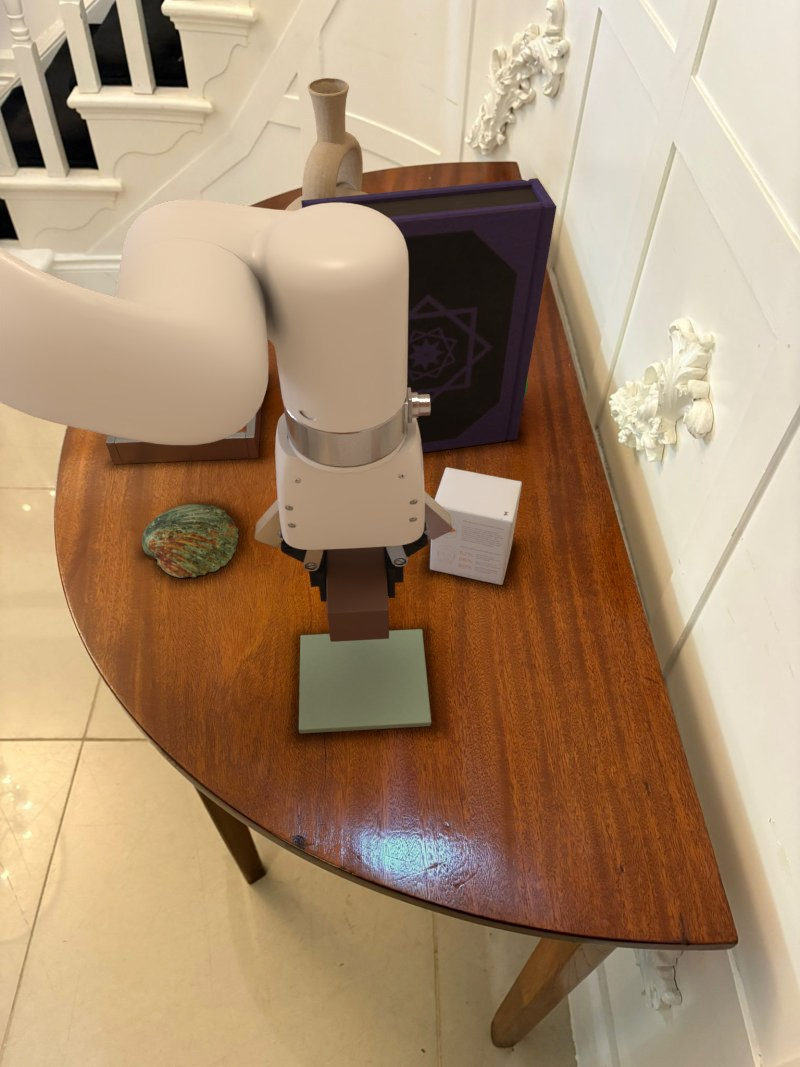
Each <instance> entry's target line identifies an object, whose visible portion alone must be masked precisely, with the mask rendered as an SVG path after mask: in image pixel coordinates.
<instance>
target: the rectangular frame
mask: <svg viewBox="0 0 800 1067" xmlns="http://www.w3.org/2000/svg"><path fill="white" fill-rule="evenodd" d="M262 410H263V403H262V404H261V406H260V408H259V410H258V411H257V413H256V414H255V416H254V417H253V418H252V419H251V420H250V421H249V422H248V423H247V424H246V430H245V431H237V432H236V433H234V434H233V435H231V436H229V437H227V438H224V439H221V440H218V441H215V442H211V443H205V444H199V445H165V444H155V443H149V442H142V441H135V440H130V439H125V438H120V437H115V436H111V435H106V441H105V445H106V447H107V450H108V453H109V455H110V457H111V460H112V463H113V465H122V464H123V465H126V464H127V465H128V464H129V465H130V464H150V463H153V464H154V463H175V462H178V463H179V462H199V461H202V462H203V461H224V460H225V461H226V460H247V459H248V460H249V459H250V460H251V459H259V453H260V440H261V424H262Z"/></svg>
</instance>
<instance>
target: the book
mask: <svg viewBox="0 0 800 1067" xmlns="http://www.w3.org/2000/svg"><path fill="white" fill-rule="evenodd" d="M301 203H302V208H305V207H308V206H311V205H317V204H323V203H351V204H357V205H362V206H365V207H369V208H371V209H374V210H376V211H378V212H380V213H382V214H383V215H385V216H386V217H388V218H389V219H390V220H391V221H392V222H394V223H395V225H396V226H397V227H398V228H399V230H400V231H401V233H402V235H403V237H404V239H405V242H406V246H407V250H408V262H409V289H408V359H407V388H410V387H411V392H417V393H418V394H429V395H430V407H431V410H430V415H425V416H418V418H416V420H417V423H418V427H419V431H420V437H421V445H422V454H424V453H430V452H437V451H445V450H452V449H458V448H459V449H460V448H465V447H473V446H474V447H475V446H480V445H487V444H494V443H495V444H496V443H501V442H505V441H515V440H518V436H519V435H518V434H519V430H520V424H521V417H522V411H523V406H524V402H525V401H524V400H525V398H524V395H525V389H526V383H527V377H528V378H529V371H530V365H531V360H532V353H533V347H534V341H535V336H536V330H537V325H538V318H539V313H540V308H541V307H540V306H541V300H542V295H543V289H544V282H545V278H546V271H547V265H548V259H549V253H550V248H551V243H552V242H551V241H552V235H553V232H554V231H553V230H554V224H555V218H556V212H557V207H558V206H557V205H556V203H555V201H554V200H553V199H552V197H551V196H550V195H549V193H548V191H547V190H546V188H545V186H544V185H543V184H542V182H541V181H540V179H539V178H538V177H535V178H529V179H528V180H526V179H512V180H502V181H494V182H493V181H492V182H482V183H481V182H480V183H471V184H462V185H461V184H460V185H450V186H449V185H448V186H441V187H440V186H439V187H430V188H429V187H428V188H418V189H408V190H397V191H386V192H385V191H384V192H376V193H367V194H364V195H354V196H343V197H332V198H322V199H311V200H301ZM525 396H526V395H525Z"/></svg>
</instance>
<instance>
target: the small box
mask: <svg viewBox="0 0 800 1067" xmlns="http://www.w3.org/2000/svg"><path fill="white" fill-rule="evenodd" d="M522 487H523V483H522V481H521V480H515V479H510V478H505V477H500V476H495V475H489V474H484V473H478V472H473V471H469V470H463V469H458V468H452V467H447V466H446V467H445V468H444V471H443V474H442V477H441V480H440V483H439V486H438V488H437V491H436V494H435V497H434V500H435V501H436V502H437V503H438V504H439V505H441V506H442V507H443V508H444V509H445V510H446V511H447V512H448V513H449V514H450V516H451V523H452V530H451V531H450V532H448V533H446V534H444V535H442V536H440V537H438V538H436V539H434V540H432V539H431V540H430V552H429V553H430V554H429V557H430V558H429V570H430V571H435V572H440V573H445V574H448V575H449V574H450V575H454V576H456V577H457V576H458V577H462V578H466V579H472V580H476V581H481V582H486V583H489V584H490V583H491V584H494V585H500V586H502V585H504V580H505V577H506V572H507V568H508V564H509V559H510V555H511V550H512V547H513V540H514V535H515V529H516V523H517V517H518V510H519V505H520V498H521V492H522Z"/></svg>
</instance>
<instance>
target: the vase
mask: <svg viewBox="0 0 800 1067" xmlns="http://www.w3.org/2000/svg"><path fill="white" fill-rule="evenodd" d="M349 90H350V86H349V84H348V82H346V81H345V80H343V79H340V78H336V77H322V78H317V79H315V80H313V81H311V82H309V84H308V85H307V91H308V93H309V96H310V100H311V102H312V107H313V113H314V119H315V128H316V141H315V142H314V144H313V146H312V147H311V149H310V151H309V154H308V156H307V159H306V161H305V164H304V165H305V166H304V170H303V176H302V184H301V191H302V193H301V194H302V195H300V196H298V197H297V198H296V199H294V200H293V201H292V202H291V203H290V204H288V206H287V207H286V208H285V209H284V210H287V211H296V210H299V209H301V208H302V203H301V200H311V199H322V198H332V197H343V196H354V195H364V194H368V193H367V192H365V191H362V186H363V172H364V171H363V170H364V162H363V151H362V147H361V145H360V141H359V140H357V138H356V137H355V136H354V135H353V134H352V133H351V132H348V131H347V130H346V107H347V99H348V98H347V97H348V93H349Z"/></svg>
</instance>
